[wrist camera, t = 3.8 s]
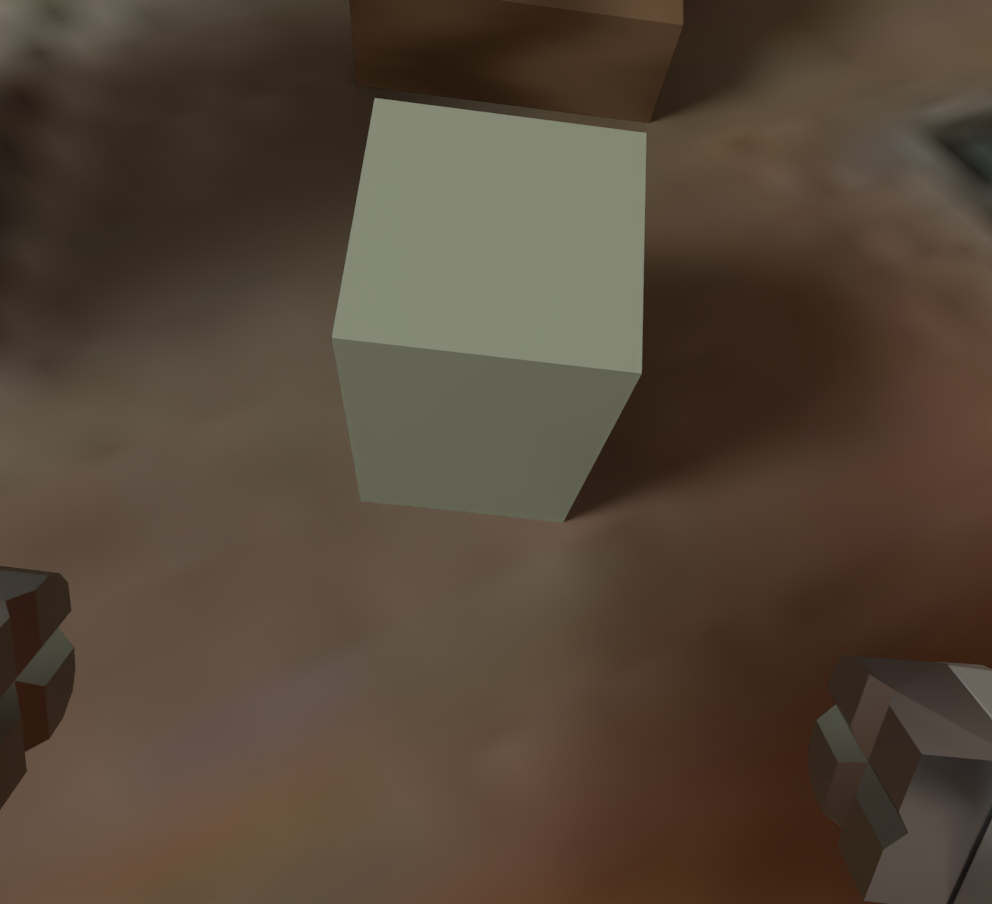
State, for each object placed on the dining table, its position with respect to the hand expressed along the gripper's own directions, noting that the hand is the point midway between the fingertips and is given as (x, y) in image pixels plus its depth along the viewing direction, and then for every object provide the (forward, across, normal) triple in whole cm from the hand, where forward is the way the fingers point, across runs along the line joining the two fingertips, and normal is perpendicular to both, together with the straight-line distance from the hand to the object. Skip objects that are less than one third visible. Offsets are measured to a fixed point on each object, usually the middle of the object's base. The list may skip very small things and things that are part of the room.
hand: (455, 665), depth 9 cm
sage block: (+13, 0, +2) cm, 13 cm away
